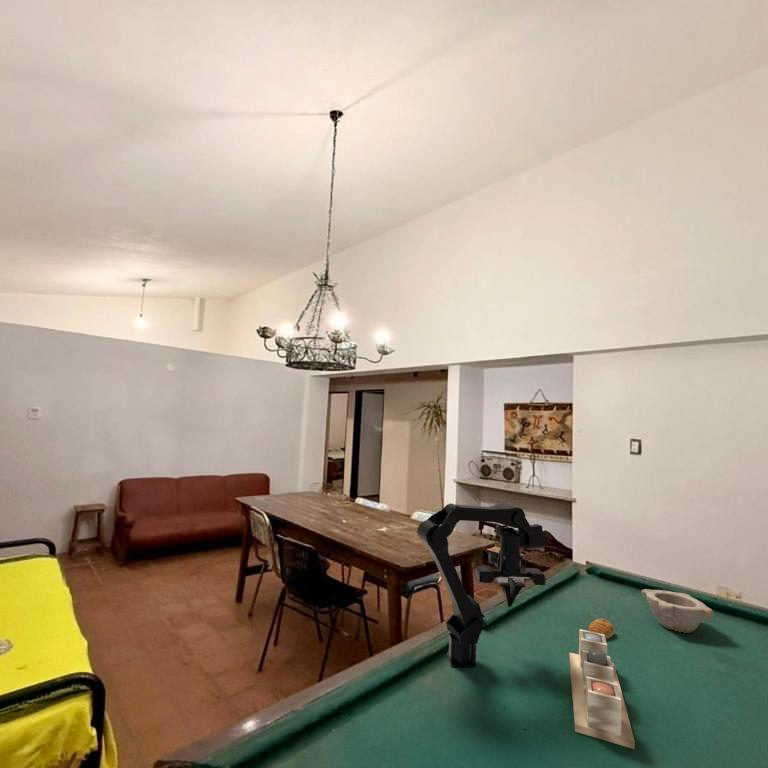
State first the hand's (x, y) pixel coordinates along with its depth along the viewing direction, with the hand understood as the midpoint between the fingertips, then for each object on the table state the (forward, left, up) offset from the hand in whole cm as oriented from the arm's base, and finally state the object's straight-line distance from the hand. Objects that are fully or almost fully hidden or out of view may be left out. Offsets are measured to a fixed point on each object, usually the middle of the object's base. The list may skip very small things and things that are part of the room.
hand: (509, 606), depth 120 cm
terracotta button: (+12, -28, -9) cm, 32 cm away
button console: (+16, -17, -13) cm, 27 cm away
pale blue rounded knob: (+21, -6, -9) cm, 24 cm away
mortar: (+64, +22, -13) cm, 69 cm away
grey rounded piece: (+16, -17, -8) cm, 25 cm away
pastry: (+34, +14, -14) cm, 40 cm away
